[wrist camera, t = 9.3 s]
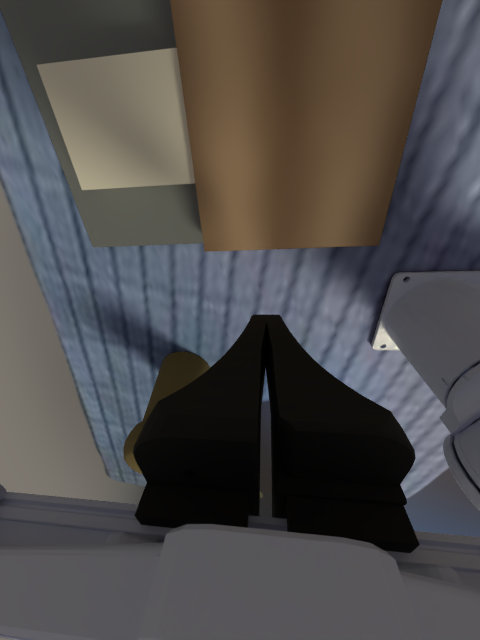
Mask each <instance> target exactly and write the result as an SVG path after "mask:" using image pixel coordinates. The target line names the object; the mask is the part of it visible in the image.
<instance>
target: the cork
mask: <svg viewBox="0 0 480 640" xmlns="http://www.w3.org/2000/svg"><path fill="white" fill-rule="evenodd" d="M208 369H210V367H209V365H208V363H207V362H206V361H205V360H204V359H203V358H201V357H199V356H197V355H196V354H193V353H189V352H175V353H171V354H169V355H168V356H166V357H165V359H164V360H163V362H162V365H161V368H160V371H159V374H158V377H157V380H156V383H155V386H154V389H153V392H152V395H151V398H150V401H149V404H148V407H147V410H146V412H145V415H144V418H143V421H142V422H140V423H139V424H137V425H136V426H135V427H134V428H133V430H132V431H131V432H130V434H129V435H128V437H127V439H126V441H125V445H124V460H125V461H126V463H127V464H128V466H129V467H130V468H132V469H133V470H135V471H136V472H138V473H141V474H142V472H141V470H140V468H139V466H138V465H137V463H136V461H135V458H134V455H133V448H134V445H135V443H136V441H137V438H138V436H139V434H140V432H141V430H142V428H143V426H144V424H145V422H146V420H147V418H148V417H149V415H150V413H151V412H152V410H153V409H154V407H155V405H156V404H157V402H158V401H159V400H161V399H163V398H165V397H167V396H169V395H170V394H172V393H174V392H176V391H178V390H179V389H181V388H183V387H184V386H186V385H188V384H189V383H191V382H192V381H194V380H195V379H197V378H198V377H199V376H201V375H202V374H203V373H205V372H206V371H207V370H208Z"/></svg>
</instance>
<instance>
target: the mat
mask: <svg viewBox="0 0 480 640" xmlns="http://www.w3.org/2000/svg"><path fill="white" fill-rule="evenodd" d="M0 10H1V12H2V15H3V17H4V20H5V22H6V25H7V28H8V30H9V33H10V35H11V38H12V40H13V43H14V45H15V48H16V51H17V53H18V56H19V58H20V61H21V63H22V66H23V69H24V71H25V74H26V76H27V79H28V81H29V84H30V87H31V89H32V92H33V94H34V97H35V99H36V102H37V105H38V107H39V110H40V112H41V115H42V117H43V120H44V122H45V125H46V128H47V130H48V133H49V135H50V138H51V140H52V143H53V146H54V148H55V151H56V153H57V156H58V158H59V161H60V164H61V166H62V169H63V171H64V174H65V176H66V179H67V181H68V184H69V187H70V189H71V192H72V194H73V197H74V199H75V202H76V205H77V207H78V210H79V212H80V215H81V217H82V220H83V223H84V225H85V228H86V230H87V233H88V235H89V238H90V241H91V243H92V246H93V247H111V246H137V245H164V244H190V243H203V236H202V228H201V221H200V214H199V207H198V199H197V192H196V185H195V183H193V184H177V185H160V186H144V187H127V188H110V189H94V190H82V189H81V186H80V183H79V180H78V178H77V175H76V172H75V169H74V167H73V164H72V161H71V158H70V156H69V153H68V150H67V147H66V145H65V142H64V139H63V136H62V134H61V131H60V128H59V125H58V123H57V120H56V117H55V114H54V112H53V109H52V106H51V103H50V101H49V98H48V95H47V92H46V90H45V87H44V84H43V81H42V79H41V76H40V73H39V70H38V68H37V65H39V64H47V63H55V62H63V61H71V60H80V59H88V58H96V57H104V56H112V55H120V54H129V53H137V52H145V51H153V50H161V49H169V48H177V47H176V39H175V32H174V25H173V17H172V10H171V3H170V0H0Z"/></svg>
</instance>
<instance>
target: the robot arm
mask: <svg viewBox="0 0 480 640" xmlns="http://www.w3.org/2000/svg"><path fill="white" fill-rule="evenodd" d="M405 277H408V278H407V279H406V280H404V281H403V279H404V278H405ZM382 344H384V345H383V346H381V345H382ZM371 346H372V348H373V349H374V350H400V351H401V352H402V353H403V354H404V356H405V357H406V358H407V359H408V361H409V362H410V363H411V365H412V366H413V367H414V368H415V370H416V371H417V372H418V373H419V375H420V376H421V377H422V379H423V380H424V381H425V382H426V384H427V385H428V386H429V387H430V389H431V390H432V391H433V393H434V394H435V395H436V396H437V398H438V399H439V400H440V401H441V403H442V404H443V405H444V407H445V408H446V411H445V412H444V413H443V414H442V415H441V416H440V419H441V420H442V422H443V423H444V425H445V426H446V427H447V429H448V430H449V431H450V433H451V434H450V435H449V436H447V437H446V438H445V440H444V443H443V450H444V455H445V458H446V461H447V463H448V466H449V467H450V470H451V472H452V474H453V476H454V478H455V480H456V481H457V483H458V485H459V486H460V488H461V489H462V490H463V492H464V493H465V495H466V496H467V497H468V498H469V500H470V501H471V502H472V503H473V504H474V506H475V507H476V508H477V509H478V510H479V511H480V271H441V272H399V273H396V274H395V275H393V277H392V279H391V282H390V285H389V289H388V292H387V295H386V298H385V301H384V305H383V308H382V311H381V314H380V318H379V321H378V324H377V327H376V330H375V334H374V337H373V340H372V343H371ZM265 368H266V373H267V382H268V391H269V400H270V411H271V454H272V455H271V459H272V517H263V516H259V506H260V505H259V503H260V434H261V433H260V432H261V431H260V430H261V405H262V396H263V386H264V377H265ZM133 455H134V458H135V461H136V463H137V465H138V466H139V468H140V470H141V472H142V474H143V476H144V477H145V479H146V481H147V484H146V487H145V489H144V492H143V495H142V497H141V500H140V502H139V504H128V503H117V502H107V501H97V500H86V499H76V498H65V497H56V496H45V495H35V494H23V493H13V492H6V489H5V488H4V487H3V486H2V485H0V637H1V638H6V639H12V640H480V537H470V536H460V535H450V534H440V533H429V532H419V531H414V529H413V527H412V525H411V522H410V520H409V518H408V515H407V513H406V510H405V508H404V506H403V505H406V503H407V501H406V497H405V495H404V493H403V490H402V488H401V486H400V484H401V482H402V481H403V479H404V478H405V476H406V475H407V473H408V472H409V471H410V469H411V467H412V466H413V463H414V461H415V451H414V449H413V447H412V445H411V443H410V441H409V440H408V438H407V436H406V434H405V432H404V431H403V429H402V427H401V426H400V424H399V423H398V422H397V420H396V419H395V417H394V416H393V414H392V412H391V411H389V410H387V409H385V408H384V407H382V406H380V405H378V404H376V403H375V402H373V401H371V400H369V399H367V398H366V397H364V396H362V395H360V394H359V393H357V392H356V391H354V390H353V389H351V388H350V387H348V386H347V385H345V384H344V383H342V382H341V381H339V380H338V379H337V378H335V377H334V376H333V375H331V374H330V373H329V372H327V371H326V370H325V369H324V368H322V367H321V366H320V365H319V364H318V363H317V362H316V361H315V360H314V359H313V358H312V357H311V356H310V355H309V354H308V353H307V352H306V351H305V350H304V349H303V348H302V347H301V345H300V344H299V343H298V342H297V340H296V339H295V338H294V336H293V335H292V334H291V332H290V331H289V329H288V328H287V326H286V325H285V323H284V321H283V320H282V318H281V316H280V315H253V316H251V319H250V321H249V323H248V324H247V326H246V328H245V329H244V331H243V332H242V334H241V335H240V337H239V338H238V339H237V341H236V342H235V343H234V344H233V346H232V347H231V348H230V349H229V350H228V351H227V353H226V354H225V355H224V356H223V357H222V358H221V359H220V360H219V361H218V362H216V363H215V364H214V365H213V366H212V367H211V368H210V369H208V370H207V371H206V372H205V373H203V374H202V375H201V376H199V377H198V378H197V379H195V380H194V381H192V382H191V383H189V384H188V385H186V386H184V387H183V388H181V389H179V390H178V391H176V392H174V393H172V394H170V395H169V396H167V397H165V398H163V399H161V400H159V401H158V402H157V404H156V405H155V407H154V409H153V410H152V412H151V413H150V415H149V417H148V418H147V420H146V422H145V424H144V426H143V428H142V430H141V432H140V434H139V436H138V438H137V441H136V443H135V445H134V448H133Z"/></svg>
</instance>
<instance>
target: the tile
mask: <svg viewBox="0 0 480 640" xmlns="http://www.w3.org/2000/svg"><path fill="white" fill-rule="evenodd" d="M37 68H38V70H39V73H40V76H41V79H42V81H43V84H44V87H45V90H46V92H47V95H48V98H49V101H50V103H51V106H52V109H53V112H54V114H55V117H56V120H57V123H58V125H59V128H60V131H61V134H62V136H63V139H64V142H65V145H66V147H67V150H68V153H69V156H70V158H71V161H72V164H73V167H74V169H75V172H76V175H77V178H78V180H79V183H80V186H81V189H82V190H94V189H110V188H127V187H144V186H160V185H177V184H193V183H195V178H194V170H193V163H192V156H191V148H190V141H189V134H188V127H187V119H186V112H185V105H184V98H183V90H182V83H181V76H180V68H179V61H178V54H177V48H169V49H161V50H153V51H145V52H137V53H129V54H120V55H112V56H104V57H96V58H88V59H80V60H71V61H63V62H55V63H47V64H39V65H37Z"/></svg>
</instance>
